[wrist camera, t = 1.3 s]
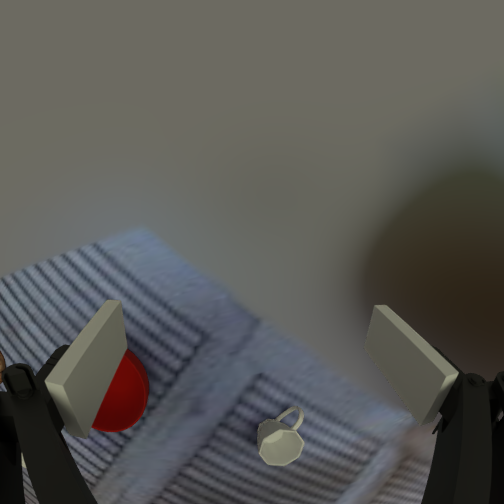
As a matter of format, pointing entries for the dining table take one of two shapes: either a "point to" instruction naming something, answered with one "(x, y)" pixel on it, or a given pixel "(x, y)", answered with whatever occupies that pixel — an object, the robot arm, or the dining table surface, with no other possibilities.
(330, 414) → the dining table surface
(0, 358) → the cookie
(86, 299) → the dining table surface
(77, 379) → the robot arm
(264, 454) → the cup
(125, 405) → the ceramic cup
